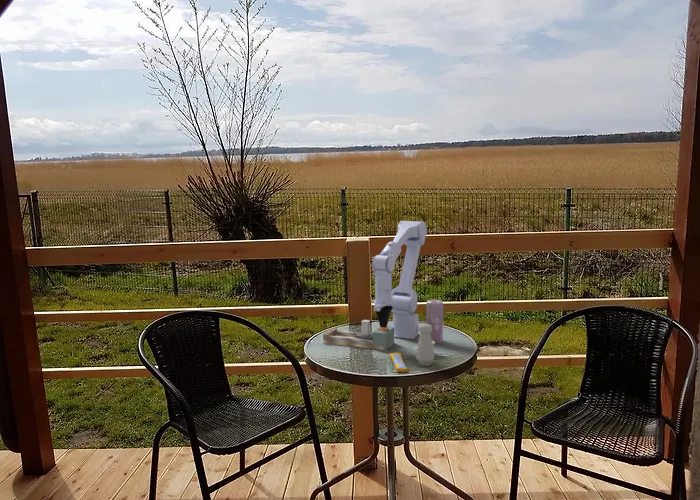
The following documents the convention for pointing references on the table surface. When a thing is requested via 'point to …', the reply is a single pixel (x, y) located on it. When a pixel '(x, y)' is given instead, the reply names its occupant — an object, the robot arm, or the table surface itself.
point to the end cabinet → (383, 338)
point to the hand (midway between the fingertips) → (383, 326)
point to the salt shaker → (425, 346)
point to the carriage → (365, 331)
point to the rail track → (347, 339)
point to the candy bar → (398, 362)
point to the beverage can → (435, 319)
